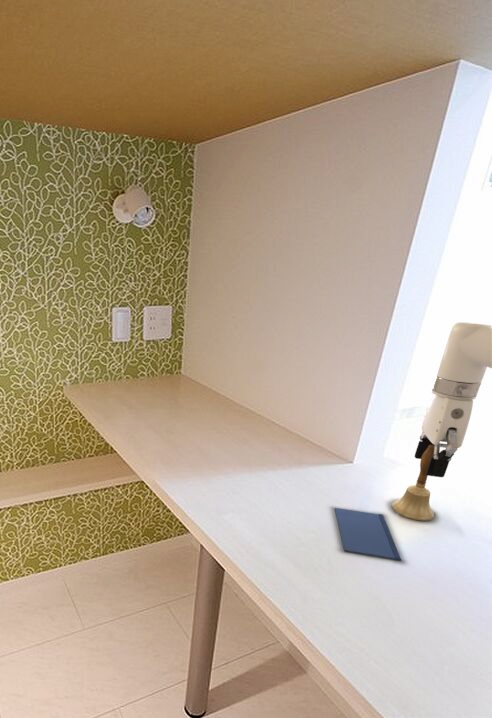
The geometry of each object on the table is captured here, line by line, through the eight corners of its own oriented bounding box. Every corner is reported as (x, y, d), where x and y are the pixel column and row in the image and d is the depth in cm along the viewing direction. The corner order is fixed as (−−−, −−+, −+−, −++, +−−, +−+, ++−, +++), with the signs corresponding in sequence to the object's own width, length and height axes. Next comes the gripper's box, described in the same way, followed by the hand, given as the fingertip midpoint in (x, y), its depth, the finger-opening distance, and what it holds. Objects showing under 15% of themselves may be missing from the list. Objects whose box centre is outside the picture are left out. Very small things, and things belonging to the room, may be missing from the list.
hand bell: (389, 512, 97) (409, 447, 90) (394, 497, 103) (413, 435, 96) (432, 525, 93) (456, 458, 86) (435, 508, 99) (458, 444, 92)
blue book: (382, 516, 96) (383, 514, 96) (400, 560, 82) (401, 558, 82) (334, 508, 98) (335, 507, 98) (344, 551, 84) (344, 549, 84)
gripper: (496, 402, 77) (463, 488, 84) (460, 377, 92) (434, 452, 100) (448, 398, 79) (420, 483, 86) (421, 374, 94) (398, 448, 101)
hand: (428, 466), depth 93 cm, fingers open, 7 cm apart
